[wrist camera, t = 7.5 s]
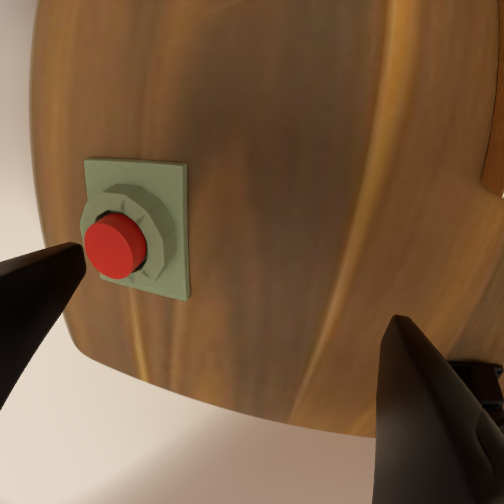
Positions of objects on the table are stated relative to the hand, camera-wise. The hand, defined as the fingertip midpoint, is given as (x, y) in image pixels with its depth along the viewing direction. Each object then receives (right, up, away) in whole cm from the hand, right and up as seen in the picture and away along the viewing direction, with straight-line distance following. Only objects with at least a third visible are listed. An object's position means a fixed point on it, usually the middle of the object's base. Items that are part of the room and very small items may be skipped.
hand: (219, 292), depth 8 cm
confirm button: (-8, +2, +12) cm, 14 cm away
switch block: (-7, +3, +14) cm, 16 cm away
